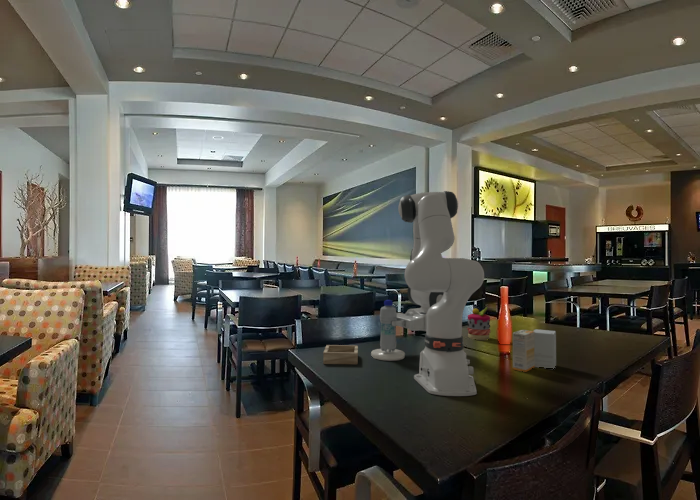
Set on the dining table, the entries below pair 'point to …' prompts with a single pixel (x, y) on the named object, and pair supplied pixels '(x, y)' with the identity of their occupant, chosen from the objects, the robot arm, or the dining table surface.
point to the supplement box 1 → (523, 350)
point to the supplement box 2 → (545, 348)
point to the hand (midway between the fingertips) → (386, 322)
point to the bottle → (388, 327)
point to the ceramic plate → (388, 355)
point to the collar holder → (340, 354)
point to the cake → (478, 325)
